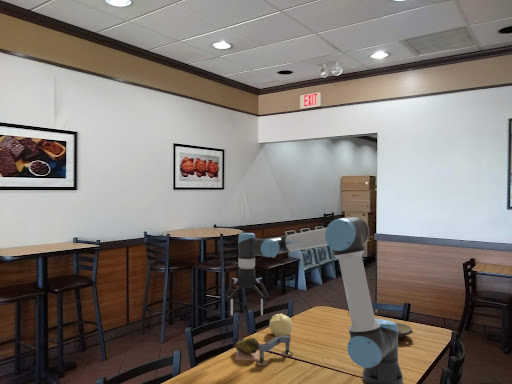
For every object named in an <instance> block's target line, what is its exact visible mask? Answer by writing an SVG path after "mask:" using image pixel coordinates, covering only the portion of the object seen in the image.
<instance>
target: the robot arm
mask: <svg viewBox="0 0 512 384" xmlns="http://www.w3.org/2000/svg"><path fill="white" fill-rule="evenodd" d="M369 237H370V227H369V225H368V223H367V222H366V221H365V220H364V219H363V218H360V217H358V216H357V217H356V216H351V217H341V218H340V217H339V218H337V219H334V220H332V221H331V222H330V223H329V224H328V225H327V227H322V228H318V229H313V230H307V231H303V232H299V233H298V232H297V233H296V232H295V233H292V234H288V235H281V236H276V237H269V238H267V237H266V238H256V234H255V233H253V232H241V233H239V234H238V241H237V244H238V258H237V259H238V271H237V272H238V274H237V275H238V276H237V277H238V278H236V277H235V278H234V277H232V278H231V282H230V285H229V286H228V289H227V291H226V293H225V295H224V299H225V300H227V301H228V302H227V305H228V308H230V316H234V314H233V313H234V311H233V310H234V307H233V306H234V301H233V300H234V299H233V298H234V297H235V296H236V295H237V293H238V292H239V291H240V290H241V289H251V288H252V289H253V290H254V291H255V292H256V294H257V295H258V296H259V297H260V298H261V299H260V315H261V316H263V315H264V313H263V312H264V308H266V301H267V300H269V299H270V294H269V293H268V291H267V289H266V287H265V285H264V283H263V278H262V277H259V278H256V268H255V266H256V256H260V257H266V258H274V257H276V256H277V255H278V254H284V253H290V252H296V251H303V250H309V249H314V248H319V247H321V248H322V247H326V246H328V247H329V248H331V249H332V251H333V252H332V253H333V256H334V257H335V258H336V259H338V262H339V265H340V266H339V268H340V271H341V276H342V277H341V278H342V281H343V286H344V291H345V297H346V302H347V307H348V311H349V317H350V321H351V324H350V326H349V328H348V333H349V337H350V339H349V341H348V343H347V346H346V347H347V348H346V349H347V354H348V356H349V358H350V359H351V360H352V362H353V363H355V364H356V366H359V367H360V368H363V369H362V380H363V381H364V382H365V383H366V384H403V383H404V377H403V373H402V369H401V366H400V364H399V337H398V326H397V324H396V323H397V322H394V321H391V320H388V319H381V318H375V313H374V310H373V304H372V299H371V295H370V290H369V283H368V281H367V280H368V279H367V276H366V272H365V271H366V269H365V266H364V261H363V254H364V253H365V245H364V244H365V243H367V241H368V239H369ZM256 282H257V283H258V284H259V286H260V288H261V290H262V292H263V293H264V294H263V293H262V292H261V291H260V290H259V288H258V287H257V286H256V284H255V283H256ZM236 283H238V286H237V287H236V288H235V289H234V290H233V292H231V291H232V289H233V287H234V285H235V284H236ZM230 293H231V294H230Z"/></svg>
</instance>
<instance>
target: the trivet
mask: <svg viewBox="0 0 512 384" xmlns="http://www.w3.org/2000/svg"><path fill="white" fill-rule="evenodd" d="M234 360H235V361H257V360H259V349H258V350H257V351H256V353H251V354H245V353H243V352H240V351H238V350H237V349H236V350H235V359H234Z"/></svg>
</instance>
